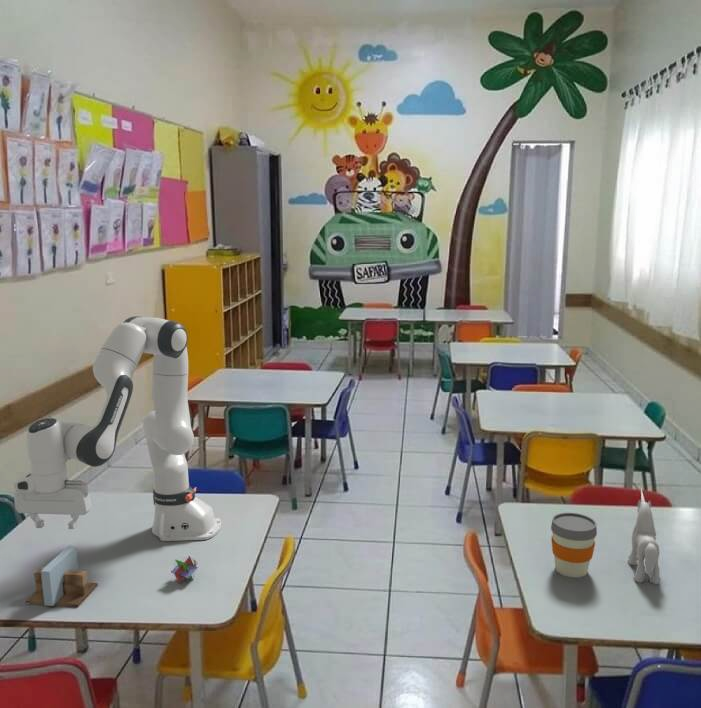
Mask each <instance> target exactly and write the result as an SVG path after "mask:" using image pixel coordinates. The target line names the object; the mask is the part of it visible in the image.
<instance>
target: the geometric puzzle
mask: <svg viewBox="0 0 701 708" xmlns="http://www.w3.org/2000/svg"><path fill="white" fill-rule="evenodd" d="M180 559H182V557H181V558H180ZM183 559H185V561H182V560H178V559H175V563H176V565H175V566H174V568H172V570H171V571H170V573H171V574H173V575H174V578H175V580H176V581H177V583H178V585H179V584H181V583H184V582H186V580H188V579H189V580H190V581H194V577H195V571H197V569H198V567H199V565H198V562H197V560H195V559H194V558H193V557H191V556H190V555H189V556H186V557H183ZM184 578H185V579H184Z"/></svg>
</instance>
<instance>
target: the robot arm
mask: <svg viewBox="0 0 701 708" xmlns="http://www.w3.org/2000/svg"><path fill="white" fill-rule="evenodd" d="M188 339H189V337H188V332H187V330H186V328H185V326H184V325H182V323H179V322H178V321H175V320H168V319H165V318H161V317H147V316H141V315H139V316H138V315H137V316H131V317H128V318H126V319H125V320H124V321H123V322H122V323H119V324H118V325H117V326H116V327H115V328H114V329H113V330H112V331H111V332H110V334H109V336H108V337H107V338H106V340H105V341H104V343H103V345H102V347H101V348H100V350H99V351H98V354H97V355H96V357H95V359H94V362H93V366H92V372H93V375H94V377H95V380H96V381H97V382H98V383H99V384H100V386H102V387H103V388H104V389H105V391H106V399H105V403H104V405H103V407H102V410H101V412H100V415H99V417H98V421H97V422H96V424H94V425H93V426H90V425H86V424H82V423H79V422H64V421H62V420H58V419H56V418H53V417H48V418H42V419H41V418H40V419H39V420H37V421H35V422H33V423H32V424H30V426H29V427H28V429H27V434H26V446H27V447H26V449H27V457H28V459H29V461H30V472H29V473H27V474H25V475H23V476H21V477H20V478H18V479H17V480H16V481H15V482H14V483H13V486H14V487H13V488H14V489H15V491H14V494H13V501H14V508H15V511H16V512H17V513H18V514H29V518H30V519H31V520H32V521H33V522H34V524H35V528H36V529H42V528H43V527H45V520H44V519H41V517H40V515H67V516H68V515H69V516H70V518H71V519H72V520H70V521H69V522H68V523H67V526H68V529H69V530H75V529H77V527H78V523H77V521H78V519H79V517H80V516H85V515H86V514H88V513H89V512H90V511H91V510H92V507H93V505H92V501H91V496H90V493H89V491H90V490H89V486H88V484H87V483H86V482H83V480H81V479H80V480H74V479H73V480H72V479H69V474H68V467H67V461H71V460H75V461H78V462H81V463H82V464H85V465H88V466H90V467H95V468H96V467H100V466H103V465H104V464H106V463H107V462H108V461H109V460H110V459H111V458H112V456H113V455H114V453H115V450H116V446H117V441H118V436H119V435H118V434H119V431H120V429H121V426H122V423H123V420H124V417H125V416H126V415H125V414H126V412H127V409H128V406H129V404H130V401H131V398H132V396H133V395H132V394H133V390H134V383H133V376H134V373H135V371H136V368H137V366H138V364H139V362H140V360H141V358H142V355H143V353H144V354H149V355H153V360H152V373H151V374H152V377H151V399H152V402H153V407H154V410H152V411H150V412H148V413H147V415H146V416H145V418H144V419H143V423H142V427H143V431H144V434H145V438H146V444H147V448H148V449H147V450H148V455H149V457H150V461H151V466H152V467H151V469H152V478H153V489H152V500H153V505H154V517H153V524H152V528H151V532H152V534H153V535H154V536H156V537H158V538H159V541H161V542H176V541H177V542H178V541H179V542H181V541H182V542H183V541H200V540H201V541H203V540H205V541H206V540H210V539H212V538H213V537H214V536H216V535H217V534H218V533H219V531H220V530H221V528H222V525H223V524H222V523H223V522H222V520H221V518H219V517H215V513H214V510H213V508H212V506H211V505H210V504H207V503H206V502H204V501H203V500H201V499H200V498H198V497H197V496H196V491H197V486H196V487H194V488H192V487H191V486H190V482H189V468H188V462H187V461H188V460H187V459H186V455H185V454H186V453H188V452H189V451H190V450H191V449H192V447H193V445H194V442H195V435H194V432H193V429H192V424H191V416H190V407H189V401H188V400H189V399H188V389H189V388H188V387H189V386H188V385H189V384H188V383H189V356H188V354H189V353H188V347H187V345H188V342H189V341H188ZM39 514H40V515H39Z"/></svg>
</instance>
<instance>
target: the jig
mask: <svg viewBox="0 0 701 708" xmlns="http://www.w3.org/2000/svg"><path fill="white" fill-rule="evenodd" d="M43 569H44V568H41V567H40V568H39V567H38V568H37V569H36V570H35V571H34V572H33V575H34V585H35V591H34V592H33V593H32V594H31V595H30V596H29V597H28V598H27V599H26V600H25V604H26V603H29V604H28V605H37V606H38V605H41V606H46V605H45V604H44V596H43V587H42V578H41V570H43ZM87 573H88V572H87V570H79V571H74V570H68V571H67V572H66V573H65V574H64V579H65V581H64V582H63V583H62V584H63V594H64V595H63V596H62V597H61V598H60V599H59V600H58V601H57V602H56V603H55V605H54V606H56V607H70V608H79V607H80V606H81V605H82V604H83V602H84V601H85V600H87V598H88V597H89V596H90V595H91V594H92V593H93V592H94V590H95V589H96V588H97V587H98V585H99V584H98V582H92V581H88V574H87Z"/></svg>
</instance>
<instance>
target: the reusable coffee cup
mask: <svg viewBox="0 0 701 708" xmlns="http://www.w3.org/2000/svg"><path fill="white" fill-rule="evenodd" d="M550 529H551V533H552V535H551V537H550V539H551V550H552V555H553V557H554V567H555V568H554V569H555V570H556V571H557V573H559V574H560V575H562V576H565V577H568V578H583V577H585V576H587V574H588V571H589V566H590V562H591V560H592V559H593V556H594V551H595V546H596V539H595V538H596V537H597V535H598V534H597V533H598V532H597V522H596V521H595V520H594V519H593V518H591V517H590V516H588V515H585V514H582V513H577V512H561V513H556V514H555V515H554V516H553V517H552V519H551V525H550Z"/></svg>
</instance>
